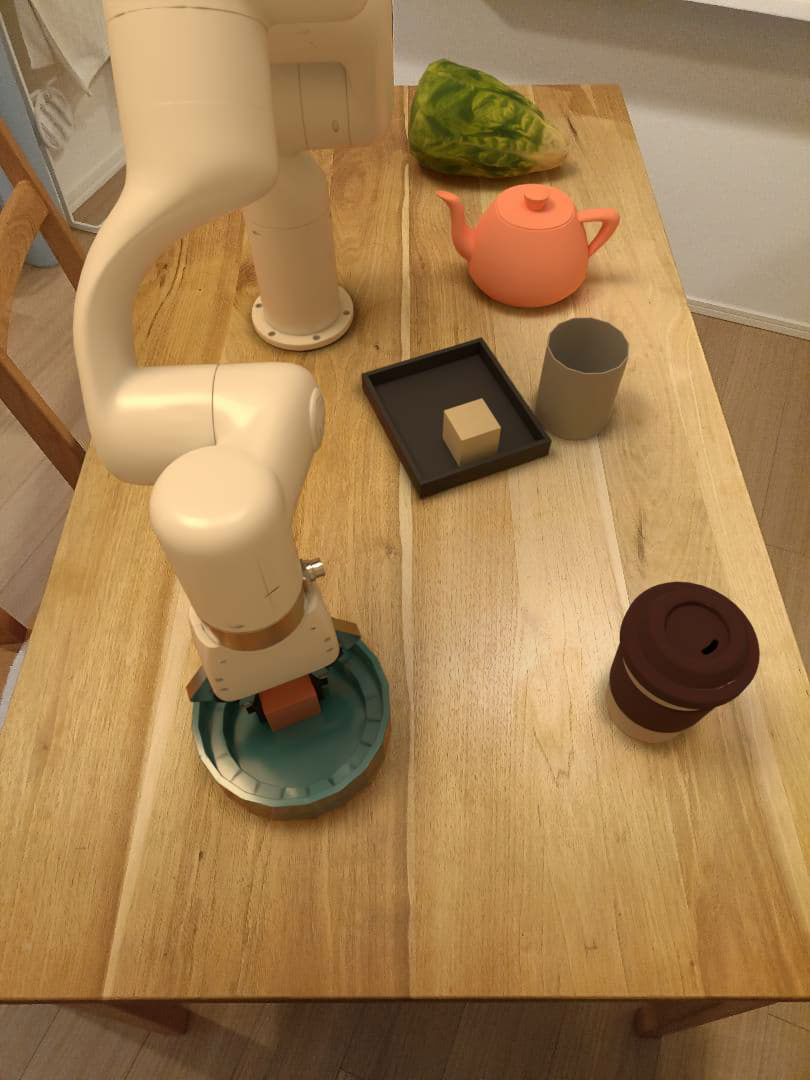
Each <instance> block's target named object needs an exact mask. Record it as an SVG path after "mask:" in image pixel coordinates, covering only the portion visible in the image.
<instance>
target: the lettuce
mask: <svg viewBox="0 0 810 1080" xmlns="http://www.w3.org/2000/svg"><path fill="white" fill-rule="evenodd" d="M407 129H408V130H407V140H408V147H409V153H410V154H411V155H412V157H413V158H414V159H415V161H416V162H417V163H418V164H419V165H420V166H422V167H425V168H427V169H428V170H430V171H432V172H434V173H440V174H444V175H448V176H449V175H450V176H467V177H474V178H485V179H501V178H502V179H503V178H512V177H519V176H524V175H527V174H531V173H536V172H542V171H549V170H553V169H555V168H557V167H560V166H562V165H564V163H565V162H566V160H567V158H568V157H569V155H570V141H569V140H568V138H567V137H566V136H565V135H564V133H563V132H562V131H561V130H560V129H559V128H558V127H557V126H556V125H555V124H554V123H553V122H552V121H551V120H549V119H548V117H547V116H546V115H545V114H544V113H543V112H542V110H541V109H540V108H539V107H538V106H537V105H536V104H535V103H533V101H531V100H530V99H529V98H528V97H526V96H524V95H523V94H521V93H520V92H518V91H517V90H515V89H514V88H511V87H510V86H508V85H507V84H506V83H503V82H502V81H501V80H499V79H497V77H495V76H493V75H491V74H489V73H486V72H484V71H482V70H479V69H477V68H472V67H469V66H466V65H462V64H459V63H456V62H454V61H451V60H449V59H447V58H441V59H438V60H435V61H433V62H431V63H428V65H427V67H426V68H425V70H424V72H423V73H422V75H421V77H420V78H419V81H418V83H417V87H416V90H415V92H414V96H413V99H412V102H411V104H410V110H409V119H408V128H407Z"/></svg>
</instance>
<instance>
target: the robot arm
mask: <svg viewBox="0 0 810 1080" xmlns="http://www.w3.org/2000/svg"><path fill="white" fill-rule="evenodd" d="M101 3H102V10H103V18H104V25H105V30H106V37H107V44H108V50H109V51H108V52H109V58H110V65H111V71H112V77H113V85H114V91H115V97H116V106H117V112H118V119H119V125H120V132H121V138H122V143H123V144H122V145H123V150H124V155H125V156H124V157H125V183H124V185H123V189H122V191H121V194H120V196H119V197H118V199H117V202H116V203H115V204H114V206H113V208H112V209H111V211H110V213H109V214H108V216H107V217H106V219H105V220H104V222H103V223H102V225H101V227H100V229H98V231H97V234H96V235H95V237H94V240H93V242H92V243H91V245H90V248H89V250H88V251H87V255H86V257H85V260H84V263H83V266H82V268H81V272H80V275H79V276H80V277H79V280H78V283H77V289H76V292H75V299H74V306H73V307H74V308H73V318H72V339H73V340H72V341H73V349H74V356H75V361H76V367H77V374H78V377H79V384H80V389H81V390H80V391H81V396H82V402H83V407H84V412H85V417H86V421H87V426H88V430H89V434H90V437H91V441H92V445H93V447H94V449H95V453H96V454H97V456H98V458H99V461H100V462H101V464H102V465H103V467H104V468H105V469H106V471H108V472H109V473H110V474H111V475H112V476H113V477H114V478H115V479H117V480H119V481H121V482H122V483H126V484H129V485H134V486H139V487H140V486H142V487H144V486H145V487H146V486H147V487H151V486H152V490H151V493H150V496H149V503H148V513H149V521H150V524H151V527H152V529H153V532H154V535H155V537H156V539H157V541H158V543H159V545H160V546H161V548H162V551H163V553H164V554H165V556H166V558H167V560H168V562H169V564H170V566H171V568H172V570H173V571H174V574H175V576H176V578H177V579H178V582H179V584H180V586H181V588H182V590H183V591H184V593H185V595H186V597H187V599H188V601H189V606H188V612H187V613H188V625H189V630H190V634H191V637H192V641H193V644H194V647H195V649H196V652H197V655H198V657H199V660H200V661H199V662H200V663H201V664H200V666H199V668H198V669H197V671H196V672H195V673H194V675H193V676H192V677H191V679H190V680H189V682H188V683H187V685H186V686H185V689H186V693H187V696H188V699H189V702H190V703H193V702H203V701H211V700H212V699H215V701H216V702H220V703H224V702H238V704H239V707H240V708H246V710H247V712H248V714H251V713H254V712H256V714H257V716H258V718H259V720H260V722H261V724H262V723H264V722H267V719H266V716H265V714H264V711H263V708H262V703H261V700H260V697H259V694H258V693H259V692H262V691H264V690H267V689H270V688H272V687H275V686H278V685H280V684H283V683H286V682H288V681H291V680H293V679H296V678H299V677H301V676H304V675H306V674H309V677H310V680H311V682H312V685H313V686H314V689H315V691H316V694H317V698H318V700H319V701H321V700H324V699H325V697H324V693H323V689H322V686H324V685H327V684H329V683H328V679H327V676H329V675H330V671H329V667H330V666H331V665H333V664H334V663H335V662H336V661H337V660H338V659H339V658H341V656H342V655H343V654H344V652H343V650H344V649H348V648H350V647H351V646H352V645H354V644H355V643H356V642H357V641H359V640H360V639H361V640H362V638H363V637H362V634H361V631H360V629H359V627H358V624H357V623H354V622H351V621H348V620H344V619H341V618H340V619H339V618H337V617H333V616H331V614H330V610H329V608H328V605H327V602H326V598H325V596H324V594H323V592H322V589H321V587H320V585H319V583H318V581H317V579H319V578H322V577H325V576H326V571H325V568H324V565H323V563H322V560H321V558H320V557H319V556H318V557H316V558H313V559H309V558H306V559H304V560H303V558H302V557H301V558H300V554H299V551H298V546H297V543H296V538H295V536H294V535H295V534H294V531H293V525H292V523H293V520H294V515H295V512H296V510H297V506H298V503H299V500H300V497H301V494H302V491H303V487H304V485H305V482H306V479H307V476H308V473H309V471H310V468H311V465H312V462H313V460H314V456H315V454H316V453H318V451H319V450H320V449H321V446H322V444H323V441H324V435H325V431H326V430H325V429H326V406H325V398H324V395H323V392H322V390H321V389H320V386H319V383H318V381H317V379H316V378H315V376H314V375H313V374H312V372H311V371H309V370H308V369H307V368H305V367H304V366H302V365H299V364H298V363H293V362H286V361H258V362H257V361H256V362H234V363H233V362H232V363H230V362H229V363H201V364H200V363H198V364H174V365H173V364H172V365H169V364H168V365H148V366H139V362H138V358H137V352H136V345H135V337H134V313H135V306H136V305H135V304H136V301H137V297H138V294H139V291H140V289H141V286H142V284H143V281H144V280H145V278H146V277H147V274H148V273H149V271H150V269H152V267H153V266H154V264H155V263H156V262H157V261H158V259H159V258H161V256H163V254H164V253H166V252H167V251H168V250H169V249H170V248H171V247H172V246H173V245H174V244H176V243H178V242H179V241H180V240H182V239H184V238H185V237H187V236H188V235H190V234H191V233H192V232H195V231H196V230H199V229H201V228H203V227H205V226H206V225H208V224H210V223H212V222H214V221H216V220H218V219H220V218H223V217H225V216H228V215H230V214H233V213H235V212H238V211H240V210H241V211H242V215H243V220H244V226H245V229H246V230H245V231H246V235H247V239H248V240H247V241H248V245H249V250H250V254H251V259H252V264H253V269H254V273H255V278H256V282H257V288H258V292H259V295H258V296H257V297H256V299H255V301H254V302H253V304H252V307H251V320H252V325H253V328H254V330H255V332H256V334H257V335H258V336H259V337H260V338H261V339H262V340H263V341H264V342H266V343H267V344H269V345H271V346H274V347H276V348H279V349H282V350H288V351H299V352H300V351H301V352H302V351H310V350H311V351H312V350H316V349H320V348H323V347H325V346H329V345H330V344H332V343H334V342H335V341H337V340H339V339H340V338H342V336H343V335H345V334H346V332H348V330H349V329H350V327H351V325H352V323H353V320H354V313H355V312H354V304H353V299H352V298H351V296H350V294H349V292H347V291H346V290H345V288H343V287H342V286H341V285H339V277H338V267H337V258H336V248H335V246H336V245H335V239H334V238H335V237H334V227H333V217H332V208H331V198H330V197H331V196H330V189H329V183H328V180H327V178H326V174H325V172H324V170H323V168H322V166H321V164H320V163H319V162H318V160H317V159H316V158H315V156H314V154H313V153H312V152H311V151H312V150H313V151H315V150H334V149H335V150H339V149H340V150H341V149H357V148H366V147H371V146H374V145H376V144H378V143H380V142H381V141H382V140H384V138H385V137H386V136H387V134H388V132H389V129H390V126H391V123H392V118H393V113H394V89H395V87H394V86H395V85H394V50H393V49H394V48H393V43H394V42H393V8H392V7H393V3H392V0H101ZM310 150H311V151H310Z"/></svg>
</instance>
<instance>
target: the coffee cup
mask: <svg viewBox="0 0 810 1080" xmlns="http://www.w3.org/2000/svg"><path fill="white" fill-rule="evenodd" d="M618 638H619V642H618V646H617V649H616V652H615V654H614V658H613V660H612V663H611V666H610V670H609V675H608V676H609V678H608V679H609V680H608V682H607V685H606V688H605V697H604V699H605V706H606V710H607V712H608V715H609V716H610V719H611V720H612V721H613V723H614V724H615V726H616V727H617V728H618V729H619V730H620V731H621V732H623V733H624V734H625V735H627V736H629V737H630V738H632V739H634V740H637V741H640V742H644V743H647V744H649V743H650V744H658V743H662V742H667V741H670V740H672V739H674V738H675V737H677V736H678V735H679V734H680V733H682V732H683V731H685V730H688V729H690V728H692V727H693V726H694V725H696V724H697V723H699V722H700V721H701V720H703V719H704V718H705V717H706V716H707V715H708V714H710V713H711V712H712V711H713V710H715V709H716V708H718V707H721V706H724V705H726V704H729V703H730V702H732V701H734V700H735V699H736V698H737V697H739V696H740V695H741V694H742V693H743V692H744V691H745V690H746V689H747V687H749V685H750V684H751V683H752V682H753V680H754V678H755V677H756V675H757V673H758V669H759V664H760V658H761V657H760V656H761V651H760V643H759V639H758V636H757V633H756V630H755V628H754V626H753V624H752V623H751V621H750V619H749V618H748V617H747V615H746V614H745V612H744V611H742V609H741V608H740V607H739V606H738V605H737V604H736V603H735V602H734V601H732V600H731V599H730V598H729V597H727V596H725V595H724V594H722V593H720V592H718V591H717V590H715V589H714V588H711V587H708V586H706V585H703V584H700V583H694V582H691V581H670V582H663V583H660V584H659V583H658V584H656V585H653V586H651V587H649V588H647V589H646V590H644V591H642V592H641V593H640V594H638V595H637V596H636V597H635V598H634V599H633V601H632V602H631V603H630V605H629V606H628V609H627V610H626V612H625V614H624V616H623V618H622V621H621V623H620V629H619V637H618Z"/></svg>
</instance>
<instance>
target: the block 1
mask: <svg viewBox="0 0 810 1080" xmlns="http://www.w3.org/2000/svg"><path fill="white" fill-rule="evenodd" d="M258 694H259V697H260V700H261V703H262V708H263V711H264V714H265V716H266V719H267V721H268V723H269V725H270V727H271V729H272V731H273V732H274V731H277V730H279V729H282V728H284V727H287V726H290V725H292V724H295V723H297V722H300V721H302V720H305V719H307V718H310V717H312V716H315V715H318V714H320V713H322V712H321V708H320V705H319V701H318V698H317V694H316V691H315V689H314V686H313V685H312V682H311V680H310V677H309V674H306V675H304V676H301V677H299V678H296V679H293V680H291V681H288V682H286V683H283V684H280V685H278V686H275V687H272V688H270V689H267V690H264V691H262V692H259V693H258Z"/></svg>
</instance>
